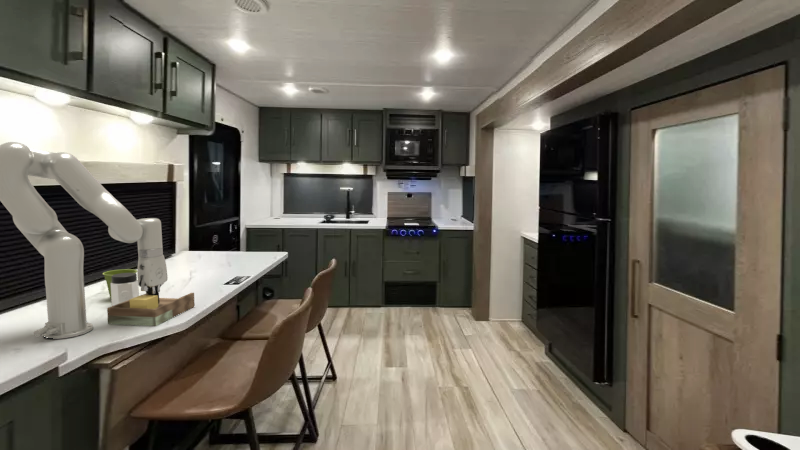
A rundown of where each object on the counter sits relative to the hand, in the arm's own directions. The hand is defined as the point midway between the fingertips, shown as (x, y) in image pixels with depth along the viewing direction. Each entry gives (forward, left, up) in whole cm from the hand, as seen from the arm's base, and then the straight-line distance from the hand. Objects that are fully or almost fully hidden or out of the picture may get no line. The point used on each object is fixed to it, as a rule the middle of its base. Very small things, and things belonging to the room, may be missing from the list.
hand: (153, 303), depth 154 cm
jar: (+10, +19, -4) cm, 22 cm away
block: (-6, 0, -1) cm, 6 cm away
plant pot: (+18, +27, -4) cm, 33 cm away
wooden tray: (0, 0, -4) cm, 4 cm away
